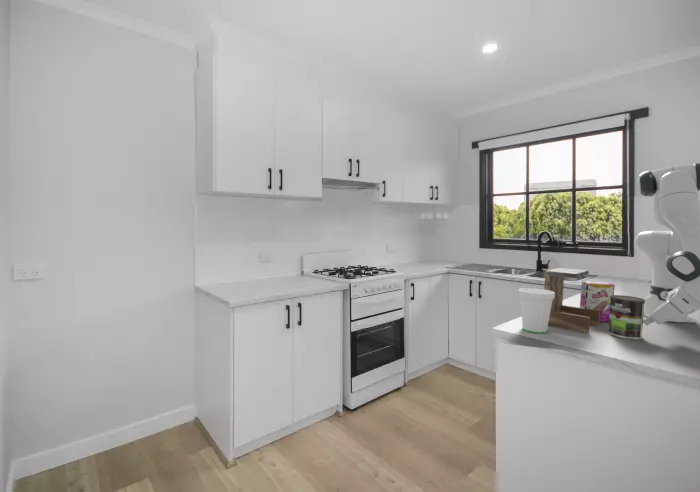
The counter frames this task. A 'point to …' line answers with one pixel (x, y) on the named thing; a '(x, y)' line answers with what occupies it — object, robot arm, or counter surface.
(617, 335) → the coffee can
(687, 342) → the counter surface
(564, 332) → the counter surface
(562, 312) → the wooden caddy stand
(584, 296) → the candy bar box
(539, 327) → the cup
